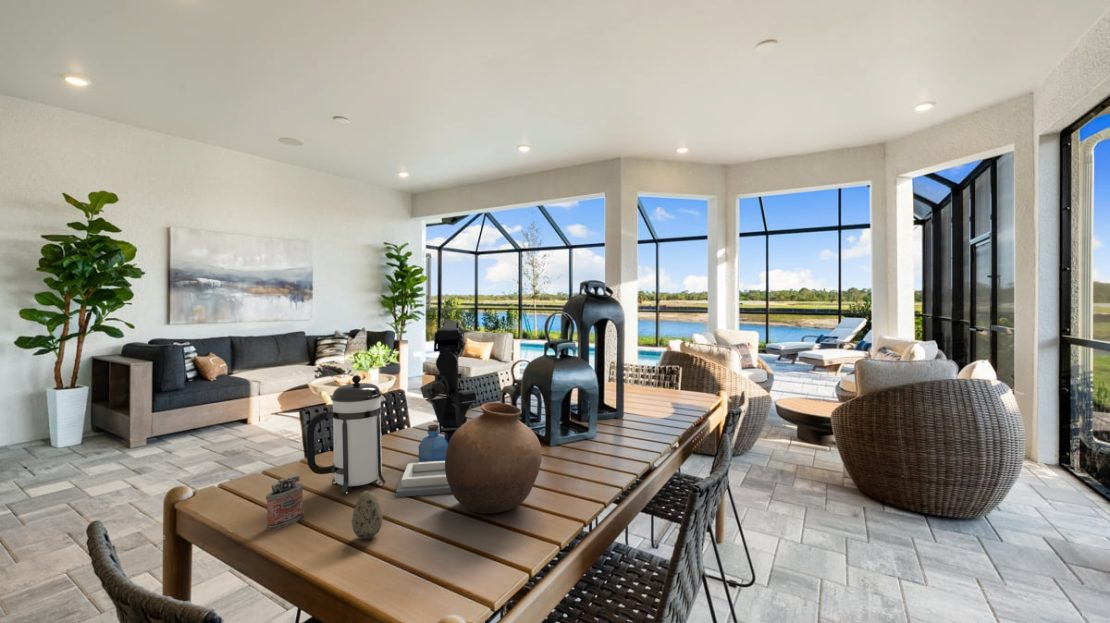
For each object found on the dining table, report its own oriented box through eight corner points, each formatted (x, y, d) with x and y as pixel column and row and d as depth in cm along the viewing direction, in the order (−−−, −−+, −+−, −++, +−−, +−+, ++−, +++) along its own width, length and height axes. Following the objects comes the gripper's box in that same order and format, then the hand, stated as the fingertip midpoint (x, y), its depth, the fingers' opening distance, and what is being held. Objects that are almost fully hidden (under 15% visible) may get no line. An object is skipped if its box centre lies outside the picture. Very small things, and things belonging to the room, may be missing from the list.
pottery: (437, 498, 122) (436, 400, 122) (523, 483, 131) (522, 392, 131) (456, 538, 101) (454, 420, 101) (557, 517, 110) (556, 409, 110)
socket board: (406, 472, 141) (405, 460, 141) (458, 468, 143) (458, 457, 143) (396, 497, 123) (395, 483, 123) (456, 492, 126) (455, 479, 125)
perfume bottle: (448, 463, 148) (448, 425, 148) (433, 470, 143) (432, 429, 142) (434, 460, 151) (433, 422, 151) (419, 466, 146) (418, 427, 146)
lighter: (271, 531, 105) (270, 486, 105) (263, 528, 107) (262, 483, 107) (307, 517, 112) (306, 474, 112) (299, 514, 114) (298, 472, 114)
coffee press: (347, 472, 141) (345, 370, 140) (397, 476, 138) (395, 371, 137) (305, 496, 124) (303, 380, 123) (361, 501, 121) (359, 381, 120)
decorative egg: (361, 530, 105) (360, 485, 105) (387, 531, 105) (386, 486, 104) (346, 544, 99) (345, 496, 99) (374, 545, 99) (373, 497, 98)
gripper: (406, 371, 142) (407, 424, 141) (444, 374, 130) (445, 432, 129) (438, 368, 150) (439, 418, 150) (477, 371, 138) (478, 426, 138)
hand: (449, 424), depth 141 cm, fingers open, 9 cm apart
